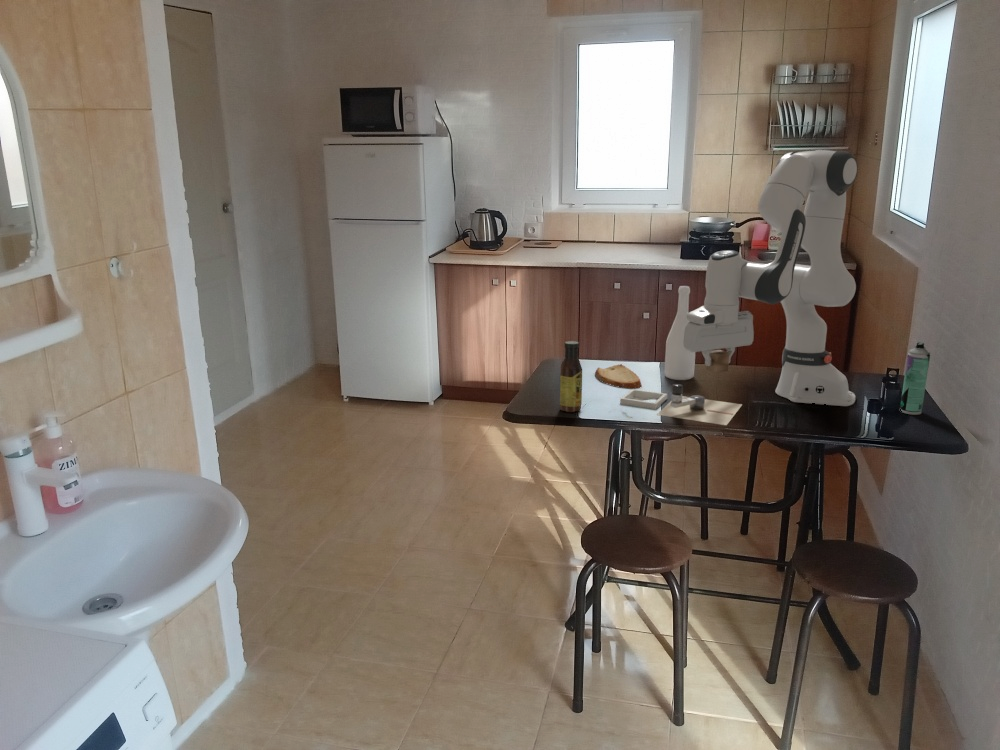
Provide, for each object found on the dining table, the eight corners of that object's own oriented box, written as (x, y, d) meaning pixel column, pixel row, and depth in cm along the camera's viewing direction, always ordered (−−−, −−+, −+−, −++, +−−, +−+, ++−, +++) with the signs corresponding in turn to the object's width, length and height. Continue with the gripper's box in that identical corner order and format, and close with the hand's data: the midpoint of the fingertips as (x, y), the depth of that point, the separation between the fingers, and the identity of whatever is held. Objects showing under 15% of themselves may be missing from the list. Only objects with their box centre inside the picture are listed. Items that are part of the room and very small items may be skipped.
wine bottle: (688, 372, 256) (694, 284, 248) (697, 380, 247) (703, 288, 239) (661, 373, 256) (665, 284, 248) (668, 381, 247) (674, 289, 238)
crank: (696, 404, 217) (698, 378, 215) (707, 408, 214) (709, 381, 212) (667, 411, 211) (668, 384, 209) (677, 415, 208) (678, 388, 206)
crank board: (741, 409, 219) (742, 404, 218) (726, 430, 202) (726, 424, 201) (676, 400, 227) (677, 394, 227) (656, 419, 211) (656, 414, 210)
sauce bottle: (580, 414, 216) (581, 345, 210) (558, 412, 217) (559, 344, 211) (582, 406, 222) (584, 340, 216) (561, 405, 223) (562, 339, 218)
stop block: (718, 367, 207) (719, 349, 205) (727, 371, 203) (729, 353, 202) (706, 369, 205) (707, 351, 204) (715, 372, 202) (716, 354, 200)
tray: (666, 403, 224) (667, 393, 223) (655, 413, 215) (656, 403, 214) (632, 398, 229) (632, 389, 228) (620, 408, 220) (620, 398, 219)
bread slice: (639, 390, 238) (639, 379, 237) (584, 384, 245) (584, 373, 244) (653, 376, 254) (653, 365, 253) (601, 370, 261) (601, 360, 260)
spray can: (920, 410, 217) (931, 341, 212) (922, 415, 212) (932, 346, 207) (899, 407, 219) (908, 340, 214) (900, 413, 214) (910, 344, 209)
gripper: (745, 308, 206) (741, 357, 210) (681, 314, 199) (678, 365, 203) (761, 312, 201) (756, 362, 205) (695, 319, 194) (692, 371, 198)
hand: (717, 364), depth 204 cm, fingers closed on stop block, 4 cm apart
